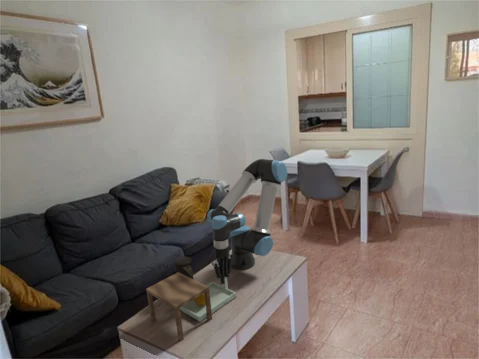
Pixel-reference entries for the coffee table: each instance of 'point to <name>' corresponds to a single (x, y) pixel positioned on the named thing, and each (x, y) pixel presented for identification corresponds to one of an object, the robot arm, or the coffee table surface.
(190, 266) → the container
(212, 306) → the tray
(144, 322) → the coffee table surface
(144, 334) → the coffee table surface
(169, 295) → the riser
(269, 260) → the coffee table surface
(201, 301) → the apple
